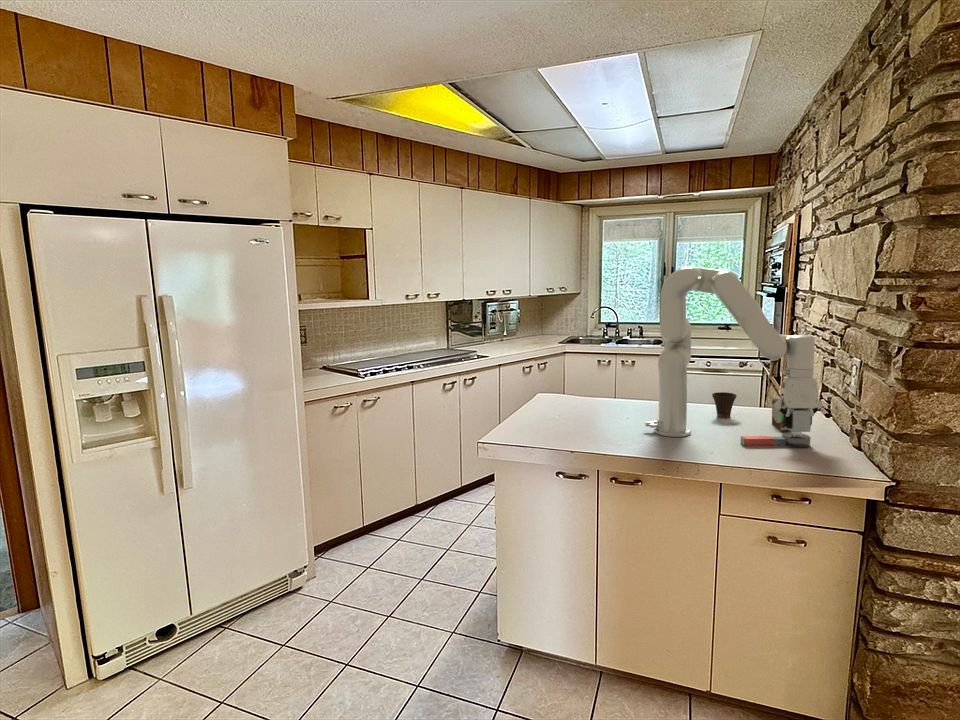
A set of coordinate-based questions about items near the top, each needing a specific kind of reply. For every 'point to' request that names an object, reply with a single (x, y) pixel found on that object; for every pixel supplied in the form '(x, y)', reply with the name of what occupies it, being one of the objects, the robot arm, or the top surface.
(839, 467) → the top surface
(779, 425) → the food container
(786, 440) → the ratchet
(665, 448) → the top surface
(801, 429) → the square aluminium tube
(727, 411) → the cup
